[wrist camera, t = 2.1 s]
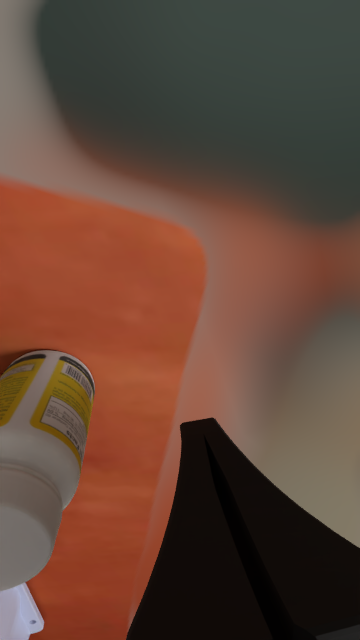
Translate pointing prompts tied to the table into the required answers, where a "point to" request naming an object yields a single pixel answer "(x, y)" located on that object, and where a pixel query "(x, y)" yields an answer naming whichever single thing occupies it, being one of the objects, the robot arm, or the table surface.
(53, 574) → the table surface
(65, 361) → the supplement bottle
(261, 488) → the robot arm
